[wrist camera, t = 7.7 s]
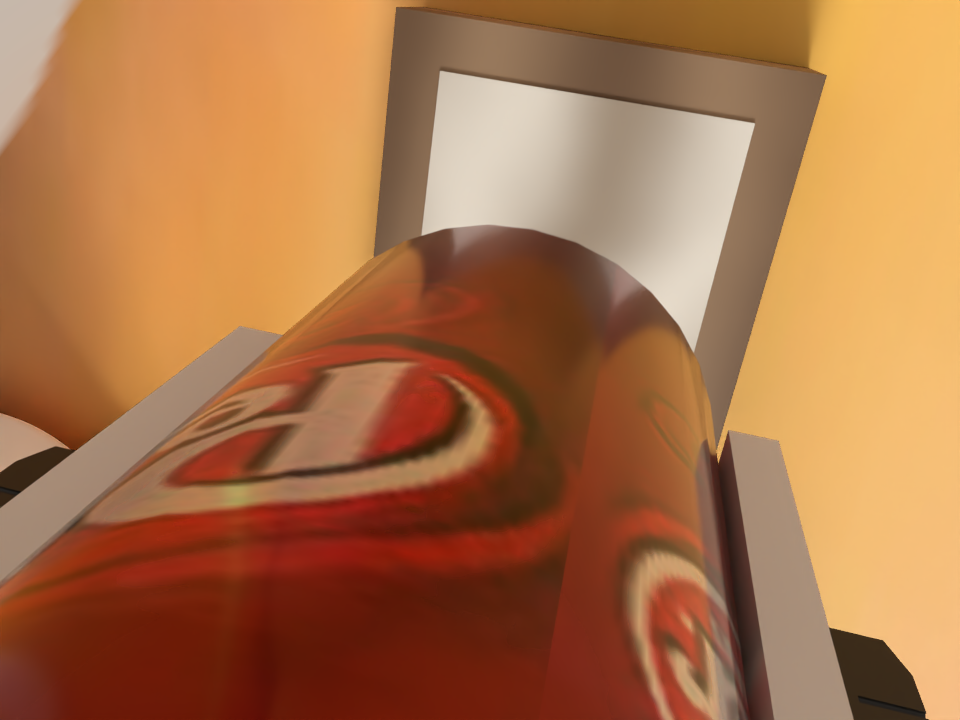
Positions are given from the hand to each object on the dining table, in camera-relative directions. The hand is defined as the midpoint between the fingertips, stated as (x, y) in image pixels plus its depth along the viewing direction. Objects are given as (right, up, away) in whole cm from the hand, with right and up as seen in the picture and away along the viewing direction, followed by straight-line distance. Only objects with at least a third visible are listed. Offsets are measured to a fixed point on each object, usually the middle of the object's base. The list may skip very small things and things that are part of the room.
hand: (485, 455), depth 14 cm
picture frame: (+3, +6, +15) cm, 16 cm away
